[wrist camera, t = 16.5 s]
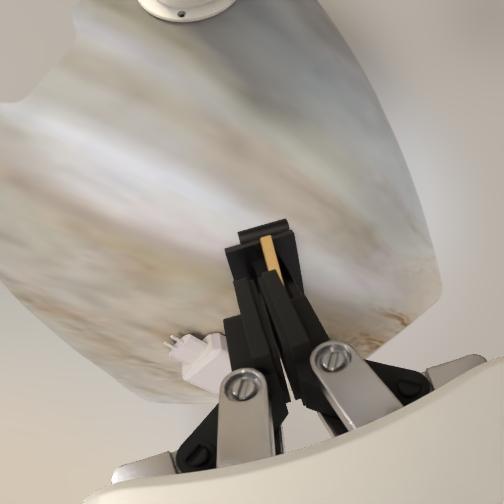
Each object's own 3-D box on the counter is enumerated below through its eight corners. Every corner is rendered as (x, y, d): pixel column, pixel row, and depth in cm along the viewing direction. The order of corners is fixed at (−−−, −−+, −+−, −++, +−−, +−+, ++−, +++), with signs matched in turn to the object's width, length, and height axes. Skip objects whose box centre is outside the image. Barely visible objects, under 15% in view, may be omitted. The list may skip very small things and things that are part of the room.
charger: (186, 309, 41) (258, 352, 48) (151, 344, 43) (222, 380, 50) (186, 331, 37) (263, 373, 44) (149, 366, 39) (225, 401, 46)
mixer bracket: (224, 248, 38) (238, 310, 27) (291, 229, 39) (330, 282, 27) (246, 317, 44) (264, 383, 33) (303, 299, 44) (335, 359, 33)
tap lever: (236, 231, 30) (238, 233, 28) (283, 217, 31) (288, 219, 28) (268, 341, 33) (272, 351, 31) (310, 328, 33) (316, 336, 31)
